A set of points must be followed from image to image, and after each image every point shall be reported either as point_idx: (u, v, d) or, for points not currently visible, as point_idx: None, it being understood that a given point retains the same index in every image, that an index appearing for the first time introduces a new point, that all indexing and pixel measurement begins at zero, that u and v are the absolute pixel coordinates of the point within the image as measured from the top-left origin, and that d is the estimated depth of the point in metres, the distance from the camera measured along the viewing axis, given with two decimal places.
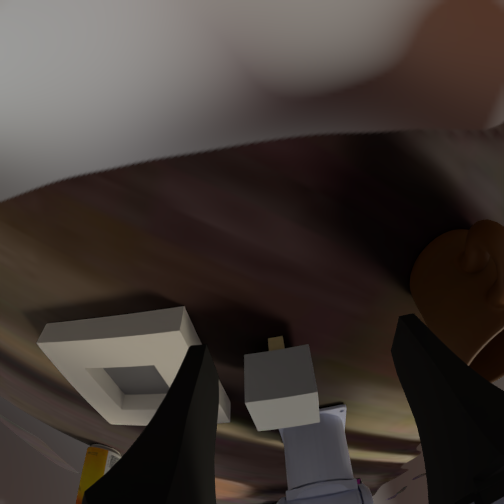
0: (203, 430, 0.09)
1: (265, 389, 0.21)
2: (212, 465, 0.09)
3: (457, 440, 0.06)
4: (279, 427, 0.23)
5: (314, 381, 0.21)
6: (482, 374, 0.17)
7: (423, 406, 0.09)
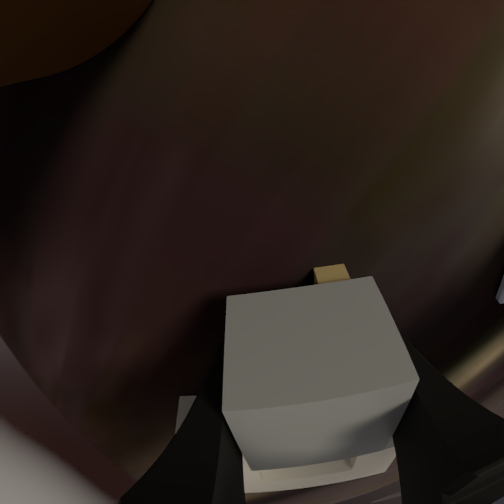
0: None
1: None
2: (241, 464, 0.09)
3: (426, 451, 0.06)
4: (387, 433, 0.09)
5: (223, 384, 0.08)
6: None
7: None
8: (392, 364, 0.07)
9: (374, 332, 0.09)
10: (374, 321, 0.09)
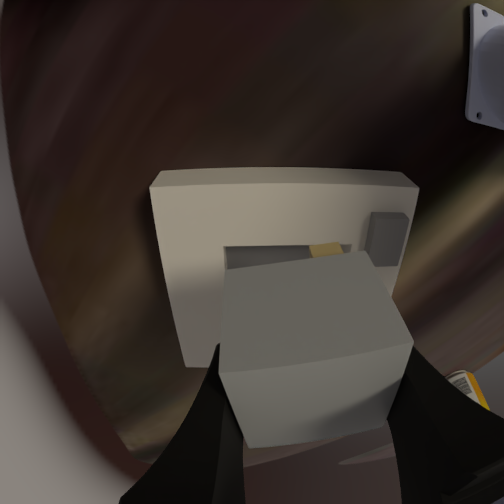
0: (234, 429, 0.09)
1: None
2: (241, 464, 0.09)
3: (426, 452, 0.06)
4: (384, 406, 0.09)
5: (220, 348, 0.08)
6: None
7: (396, 414, 0.09)
8: (386, 328, 0.08)
9: (368, 300, 0.09)
10: (367, 289, 0.09)
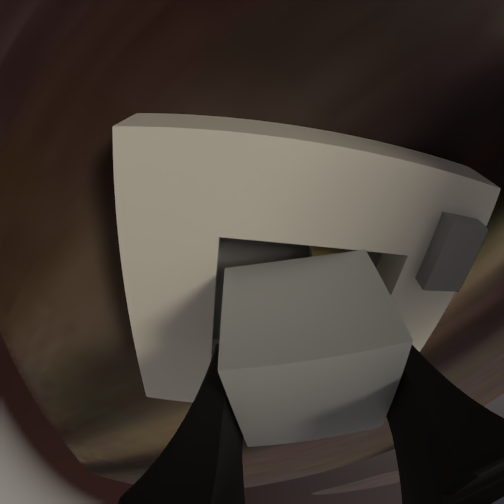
0: (234, 429, 0.09)
1: None
2: (241, 464, 0.09)
3: (426, 451, 0.06)
4: (384, 405, 0.09)
5: (220, 345, 0.08)
6: None
7: (396, 414, 0.09)
8: (385, 326, 0.08)
9: (367, 298, 0.09)
10: (367, 288, 0.09)
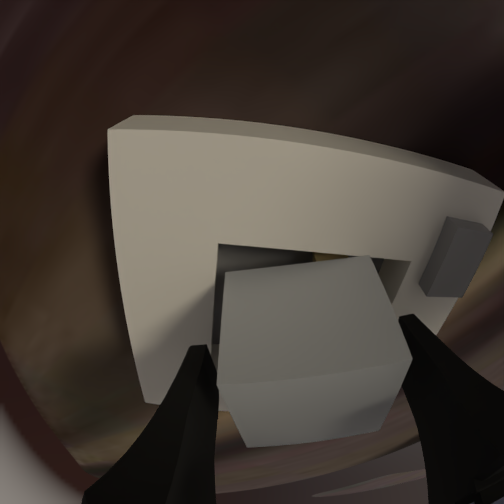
0: (204, 431, 0.09)
1: None
2: (212, 465, 0.09)
3: (457, 440, 0.06)
4: (381, 413, 0.09)
5: (219, 357, 0.08)
6: None
7: (422, 406, 0.09)
8: (386, 342, 0.08)
9: (369, 310, 0.09)
10: (369, 299, 0.09)
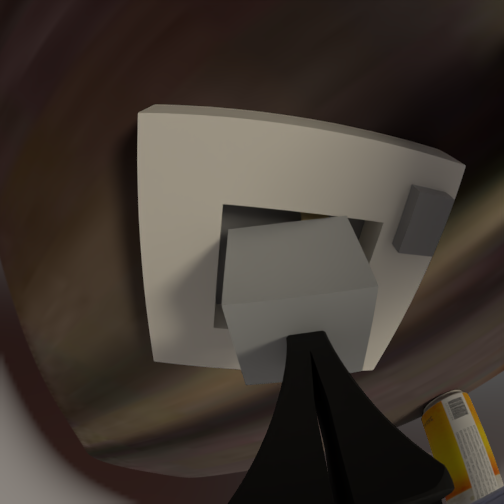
0: None
1: None
2: None
3: (338, 475, 0.07)
4: (361, 348, 0.12)
5: None
6: None
7: (324, 429, 0.09)
8: (356, 274, 0.10)
9: (344, 253, 0.11)
10: (344, 245, 0.12)
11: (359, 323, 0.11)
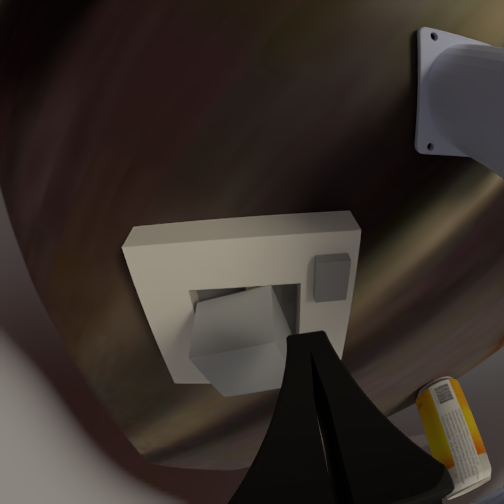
0: None
1: None
2: None
3: (338, 475, 0.07)
4: None
5: (191, 346, 0.18)
6: None
7: (324, 429, 0.09)
8: (263, 334, 0.17)
9: (260, 317, 0.18)
10: (262, 311, 0.18)
11: (274, 360, 0.17)
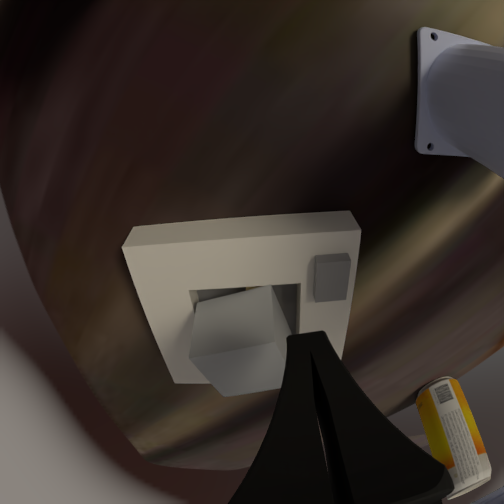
0: None
1: None
2: None
3: (338, 475, 0.07)
4: None
5: (191, 346, 0.18)
6: None
7: (324, 429, 0.09)
8: (263, 334, 0.17)
9: (260, 317, 0.18)
10: (262, 311, 0.18)
11: (274, 360, 0.17)
